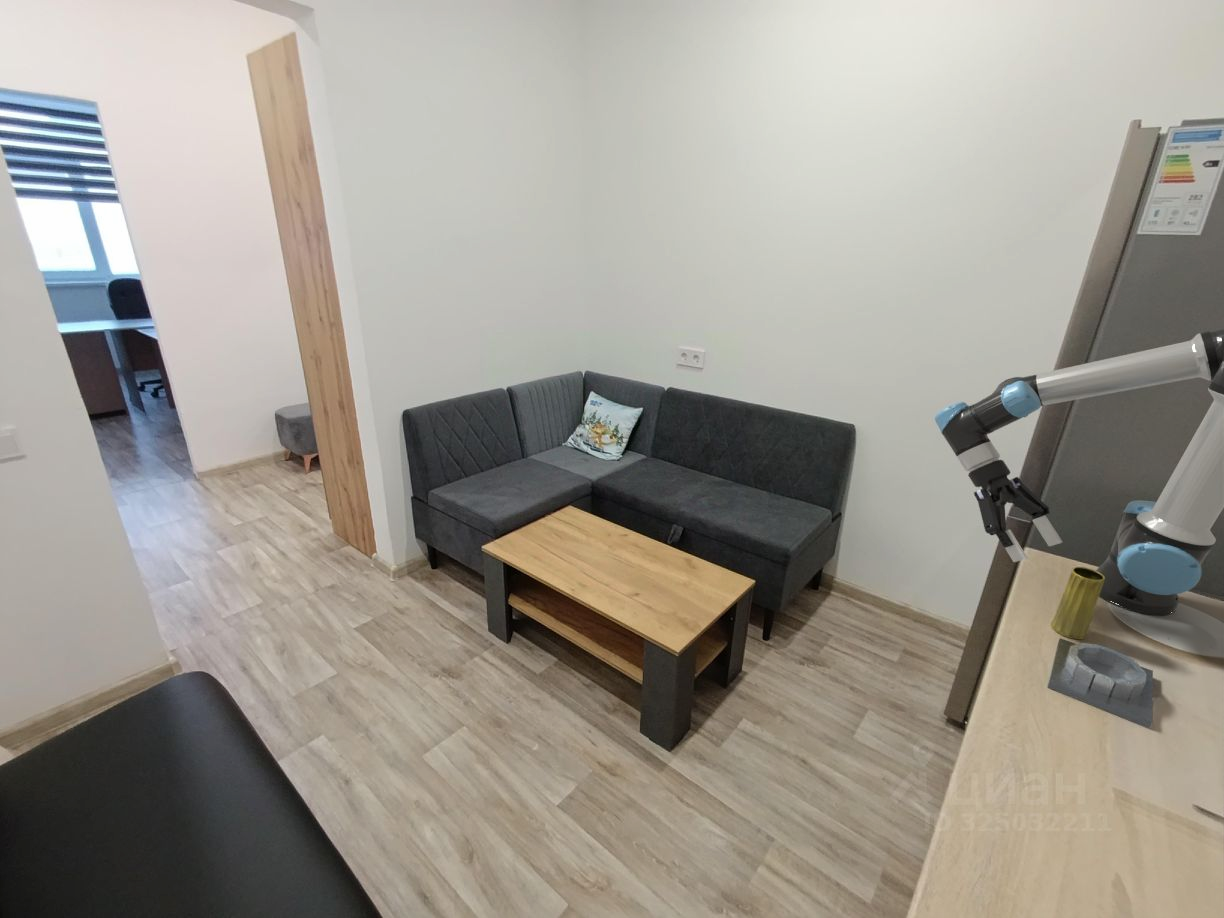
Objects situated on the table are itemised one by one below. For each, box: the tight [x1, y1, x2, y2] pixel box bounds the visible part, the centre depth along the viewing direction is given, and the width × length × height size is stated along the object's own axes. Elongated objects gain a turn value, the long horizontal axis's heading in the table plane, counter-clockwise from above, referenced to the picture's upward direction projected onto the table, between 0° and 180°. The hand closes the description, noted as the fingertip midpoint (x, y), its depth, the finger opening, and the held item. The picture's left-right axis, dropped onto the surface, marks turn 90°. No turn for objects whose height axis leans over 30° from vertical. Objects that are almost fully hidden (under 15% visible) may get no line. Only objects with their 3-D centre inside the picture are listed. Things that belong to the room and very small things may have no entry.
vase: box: [1050, 566, 1105, 640], centre depth 114 cm, size 6×6×14 cm
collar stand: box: [1047, 638, 1154, 729], centre depth 102 cm, size 16×14×4 cm
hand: (1038, 552), depth 118 cm, fingers open, 13 cm apart
